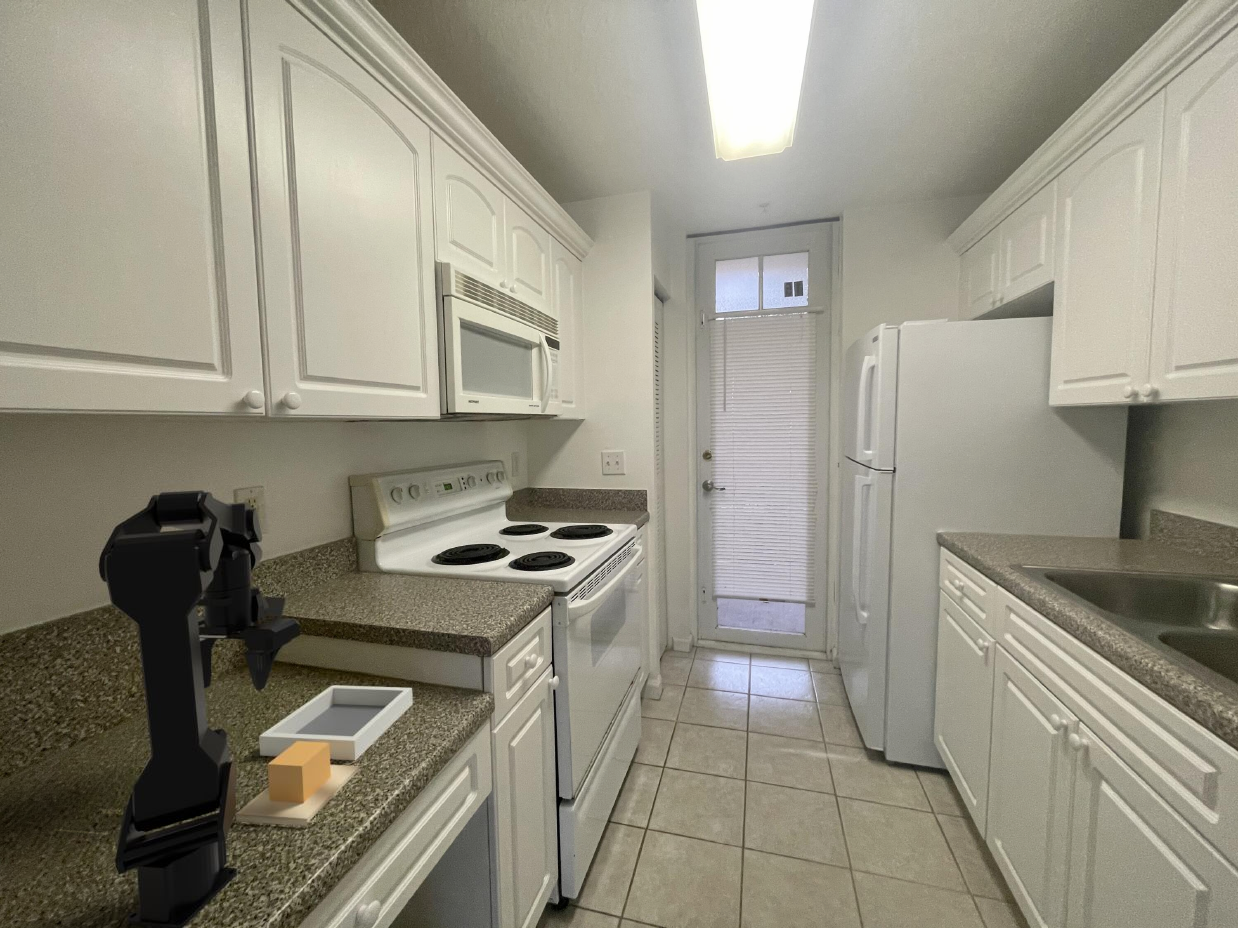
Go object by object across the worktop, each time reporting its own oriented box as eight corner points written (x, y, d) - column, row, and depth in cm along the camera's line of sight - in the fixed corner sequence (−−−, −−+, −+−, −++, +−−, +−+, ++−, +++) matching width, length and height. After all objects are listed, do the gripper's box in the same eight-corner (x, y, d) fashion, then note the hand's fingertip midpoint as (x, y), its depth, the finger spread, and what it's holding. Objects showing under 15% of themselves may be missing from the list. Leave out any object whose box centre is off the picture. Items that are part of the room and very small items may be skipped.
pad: (307, 826, 60) (307, 818, 60) (236, 821, 62) (235, 813, 61) (359, 772, 70) (358, 766, 70) (297, 769, 71) (296, 762, 71)
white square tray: (355, 763, 73) (354, 740, 72) (260, 757, 74) (259, 736, 74) (412, 706, 88) (411, 687, 88) (333, 703, 90) (332, 685, 90)
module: (303, 802, 63) (302, 765, 63) (269, 800, 64) (267, 763, 64) (330, 776, 68) (329, 742, 68) (298, 774, 69) (297, 740, 68)
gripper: (323, 572, 79) (328, 665, 79) (222, 572, 81) (227, 662, 81) (266, 593, 68) (272, 701, 68) (150, 592, 70) (156, 696, 70)
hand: (233, 688), depth 72 cm, fingers open, 9 cm apart
